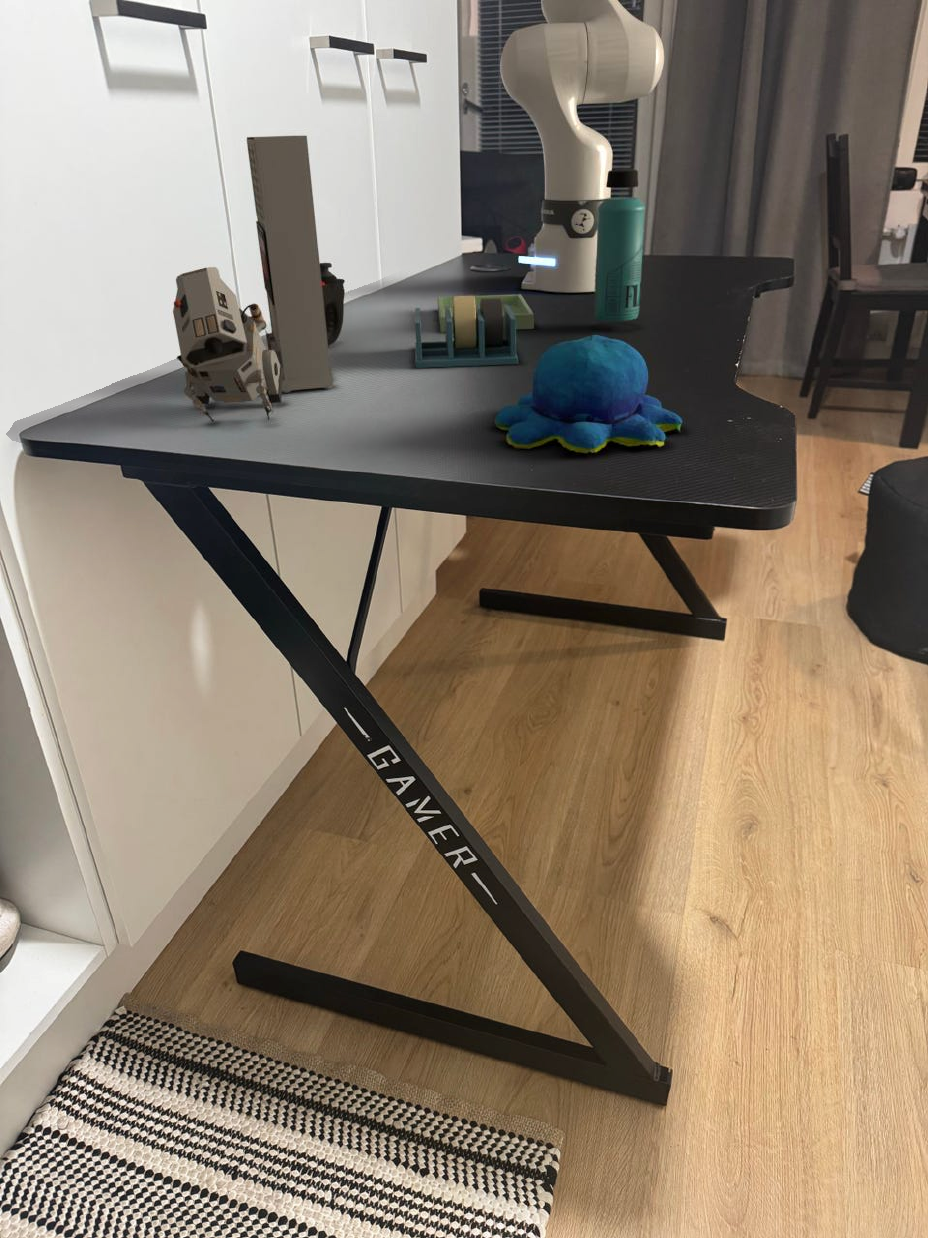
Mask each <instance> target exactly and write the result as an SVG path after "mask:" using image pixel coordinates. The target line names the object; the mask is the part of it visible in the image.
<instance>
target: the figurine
mask: <svg viewBox="0 0 928 1238" xmlns="http://www.w3.org/2000/svg"><path fill="white" fill-rule="evenodd" d="M175 284H176V289H177V290H176V295H175V300H174V302H173V308H172V314H173V319H174V325H175V330H176V331H175V332H176V336H177V341H178V347H179V352H180V355H177V356H176V359H177V360H178V361H179V362H180V364H181V365H182V366H183V367H184V368H186V371H185V373H184V378H185V379H184V380H185V383H186V386H185V387H184V388H183V394H184V395H186V396H187V397H188V398H189V399H190V400H191V401H192V404H193V405H194V407H195V409H197V410H198V411H199V412H200V413H203V415H205V416H207V417H208V418H209V419H210V421H211V422H214V421H215V420H214V419H213V418H212V416H211V415H210V413H209V412H208V411H207V410H206V407H205V406H204V405H210V399H212V400H213V401H214V402H215V403H245V402H254V400H256V399H257V398H258V397H259V396H260V399H261V404H262V407H263V409H264V411H265V413H266V418H267V419H268V421H270V415H269V414H270V413H274V412H275V409H274V407H273V405H272V404H276V403H277V404H281V403H282V396H283V395H282V394H283V392H282V383H283V368H282V365H280V364H279V361H278V358H277V355H276V353H275V352H274V350H268V349H266V347H265V344H264V342H263V339H262V337H261V335H260V333H261V332H262V331H264V330H266V328H267V322H266V321H265V319H264V316H263V313H262V310H261V309H260V306H259V305H258V304H257V303H251V304H248V305H247V306H246V307H245V308H244V309H241V308H240V307H239V303H238V299H237V296H236V294H235V293H234V291H232V289H231V288H230V287H229V286H228V285H227V283H225V282H224V280H222V278H221V275H220V271H219V268H217V267H216V266H209V267H203V268H199V269H195V270H191V271H187V272H183V273H180V274H179V275H177V276H176V278H175ZM248 309H249V311H250V315H248V314H247V313H246V311H247V310H248Z"/></svg>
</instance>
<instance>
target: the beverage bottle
mask: <svg viewBox="0 0 928 1238" xmlns="http://www.w3.org/2000/svg"><path fill="white" fill-rule="evenodd" d="M606 187H608V188H611V189H624V188H625V189H626V188H627V189H628V188H638V187H639V171H638V170H637V169H631V168H618V169H612V170H611V171H609V172H608V178H607V184H606ZM645 211H646V206H645V204H644V203H643V202H642V201H641V200H640V199H639V198H638V197H634V196H633V197H632V196H631V197H628V196H625V197H624V196H621V197H620V196H619V197H618V196H617V197H610V198H607V199H605V200H604V201H603V202H602V203H601V204H600V206H599V207H598V228H597V254H596V269H595V270H596V272H595V271H594V274H595V275H594V276H595V277H594V278H595V288H594V289H595V291H594V299H593V303H592V305H593V310H592V312H593V315H594V318H595V319H596V320H599V321H606V322H607V321H608V322H611V321H612V322H623V321H625V322H626V321H632V320H636V319H637V318H638V316H639V314H640V311H641V310H640V306H641V302H642V293H641V288H642V287H643V286H642V283H643V282H642V276H643V275H642V268H643V266H642V265H643V253H644V251H645V249H644V248H645V247H644V243H645V242H644V237H645V235H644V225H645V224H644V223H645ZM643 250H644V251H643Z"/></svg>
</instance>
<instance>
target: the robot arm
mask: <svg viewBox="0 0 928 1238" xmlns="http://www.w3.org/2000/svg"><path fill="white" fill-rule="evenodd" d="M540 3H541V4H540V5H541V11H542V14H543V16H544V18H545V20H546V23H539V24H534V25H531V26H526V27H523V28H520V29H516V30H514V31H513V32H511V34H510V35H509V36H508V38H507V40H506V42H505V43H504V46H503V49H502V51H501V56H500V63H499V70H500V72H499V73H500V77H501V82H502V84H503V87H504V89H505V92H507V94H508V95H509V97H510V98H511V99H512V100H513V101H514V102H515V103H517V104H518V105H519V106H520V107H521V108H522V109H523V110H524V111H525V112H526V114H527V115H528V116H529V119H531V121H532V123H533V124H534V126H535V128H536V130H537V132H538V136H539V139H540V142H541V146H542V152H543V163H544V164H543V165H544V199H543V200H542V203H541V208H540V209H541V212H540V213H541V222H542V226H541V229H540V230H539V232H538V233H537V234H536V236H535V237H534V238H533V243H530V246H529V247H527V256H522V255H521V256H520V255H519V256H518V263H519V264H520V263H521V264H527V265H528V264H529V269H530V271H528V272H527V273H526V275H525V276H524V278H523V280H522V282H521V287H520V289H522V290H531V291H534V290H535V291H541V292H553V293H592V292H593V293H595V289H594V288H595V278H594V277H595V276H594V275H595V274H594V271H595V272H596V270H595V269H596V254H597V228H598V207H599V206H600V204H601V203H602V202H603V201H604V200H605V199H607V198H612V197H611V195H612V188H608V187H606V184H607V178H608V172H609V171H611V170H613V156H614V155H613V149H612V146H611V144H610V142H609V140H608V139H607V138H606V137H605V136H604V135H602V134H601V133H600V132H598V131H596V130H594V129H593V128H591V127H589V126H587V125H585V124H583V123H582V122H581V121H580V119H579V116H578V111H577V107H578V106H579V105H590V104H591V105H593V104H620V103H626V102H629V101H633V100H637V99H640V98H644V97H647V96H649V95H650V94H651V93H652V92H653V91H654V89H655V88H656V87H657V86H658V83H659V81H660V79H661V76H662V74H663V71H664V65H665V50H664V43H663V41H662V39H661V37H660V34H659V33H658V31H657V30H656V29H655V27H654V26H652V25H650V24H648V23H645V22H644V21H641V20H640V19H638V18H637V17H635V16H634V15H632V14H631V13H630V12H629V11H628V10H627V9H626V8H625V7H624V6H623V5H622V4H621V2H620V1H619V0H540Z"/></svg>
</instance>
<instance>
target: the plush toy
mask: <svg viewBox="0 0 928 1238" xmlns="http://www.w3.org/2000/svg"><path fill="white" fill-rule="evenodd" d="M646 363H647V362H646V361H645V359H644V357H643V356H642V355H641V354H640V352H639V351H638V350H637V349H635V347H634V346H633V347H632V346H631V345H630V344H629V343H628V342H627V343H626V342H625V341H623V340H620V339H616V338H609V337H606V336H602V335H599V334H592V335H589V336H585V337H584V336H583V337H582V338H579V339H574V340H568V341H561V342H559V343H556V344H554V345H552V346H550V347H549V348H548V349H547V350H546V351H545V352H543V353H542V355H541V357H540V358H539V359H538V362H537V364H536V367H535V369H534V371H533V375H532V391H531V392H529V393H527V394H525V395H522V396H521V397H520V398H519V400H518V401H517V404H516V405H508V406H505V407H503V408H502V409H500V410H499V411H497V414H496V415H495V419H494V424H495V425H494V426H496V427H497V428H498V429H500V430H502V431H508V432H507V434H506V439H505V440H506V442H507V443H508V445H510V446H513V447H514V449H527V450H530V449H532V448H535V447H536V448H537V447H539V446H542V445H544V444H546V443H548V442H551V441H554V440H557V442H558V443H560V444H561V445H562V447H563V448H564V449H567V450H569V451H573V452H576V453H583V454H588V453H597V452H600V451H601V450H602V449H603V448H605V447H606V446H607V444H608V443H610V442H613V443H618V444H619V445H624V446H626V447H628V448H629V447H634V446H635V447H639V446H640V445H641V446H642V445H643V446H647V445H648V446H655V445H657V446H658V447H659V448H661V447H662V446H665V440H666V434H665V433H667V432H669V431H672V430H675V429H677V430H678V432H679V433H681V426H682V424H683V419H682V417H680V416H679V415H678V414H676V413H675V412H673V411H671V410H668V409H666V408H664V407H662V402H661V401H660V400H659V398H656V397H655V396H652V395H648V394H645V393H646V391H647V388H648V383H649V371H648V367H647V364H646Z"/></svg>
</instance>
